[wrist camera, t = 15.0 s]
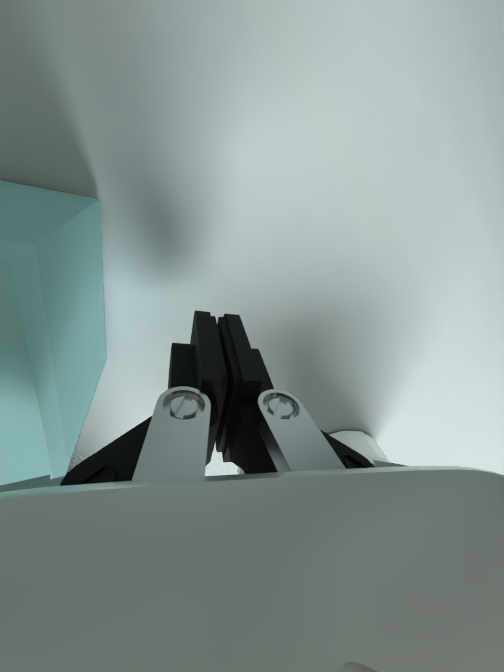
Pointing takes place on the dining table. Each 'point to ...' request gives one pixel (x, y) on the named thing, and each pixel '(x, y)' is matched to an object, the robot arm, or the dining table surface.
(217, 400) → the robot arm
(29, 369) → the keeper
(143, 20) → the dining table surface
